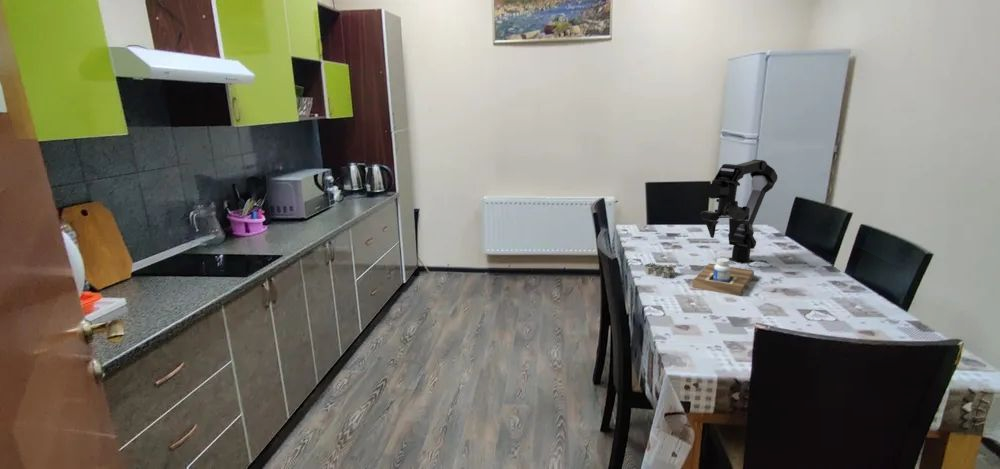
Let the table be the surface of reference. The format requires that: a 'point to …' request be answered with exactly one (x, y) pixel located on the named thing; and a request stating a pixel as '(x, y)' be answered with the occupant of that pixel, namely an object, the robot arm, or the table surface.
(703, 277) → the socket board
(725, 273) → the pill bottle
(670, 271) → the egg carton
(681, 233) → the table surface
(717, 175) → the robot arm
